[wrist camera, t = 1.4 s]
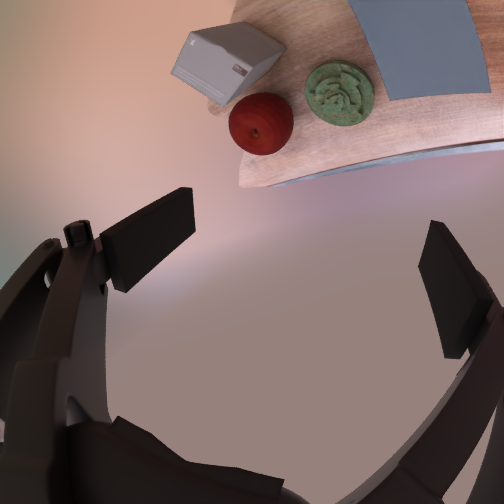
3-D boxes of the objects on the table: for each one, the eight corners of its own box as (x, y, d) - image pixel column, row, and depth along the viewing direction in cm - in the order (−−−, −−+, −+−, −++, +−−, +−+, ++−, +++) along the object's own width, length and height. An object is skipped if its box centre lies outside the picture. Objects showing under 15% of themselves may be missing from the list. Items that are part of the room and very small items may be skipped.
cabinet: (340, -18, 20) (331, -26, 15) (431, -32, 12) (445, -41, 7) (387, 83, 30) (389, 100, 25) (470, 75, 22) (491, 93, 17)
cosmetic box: (225, 49, 35) (163, 77, 26) (247, 16, 29) (186, 28, 20) (267, 77, 37) (219, 114, 28) (293, 46, 31) (251, 68, 22)
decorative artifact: (387, 86, 30) (327, 48, 29) (388, 100, 26) (318, 55, 26) (352, 131, 39) (298, 97, 38) (347, 151, 35) (285, 113, 34)
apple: (259, 138, 47) (236, 168, 41) (238, 92, 41) (208, 115, 35) (309, 129, 42) (292, 159, 36) (289, 77, 36) (266, 97, 30)
